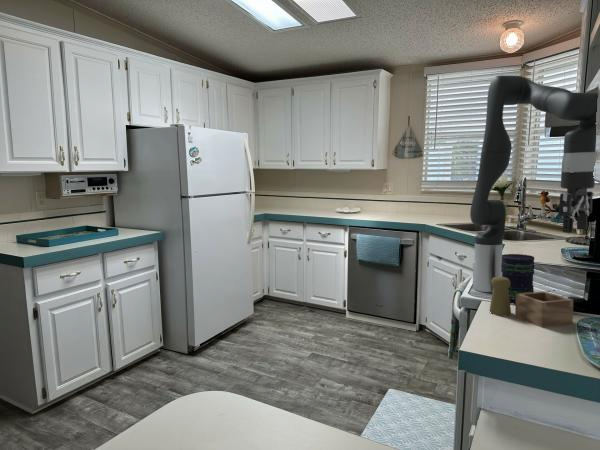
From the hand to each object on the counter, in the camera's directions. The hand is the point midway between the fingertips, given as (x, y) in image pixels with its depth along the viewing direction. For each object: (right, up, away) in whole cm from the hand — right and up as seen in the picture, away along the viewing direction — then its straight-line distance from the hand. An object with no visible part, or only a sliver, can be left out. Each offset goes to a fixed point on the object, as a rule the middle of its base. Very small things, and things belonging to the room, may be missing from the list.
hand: (574, 231), depth 112 cm
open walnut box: (-5, -26, +7) cm, 27 cm away
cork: (-13, -25, +14) cm, 32 cm away
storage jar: (-2, -24, +27) cm, 36 cm away
